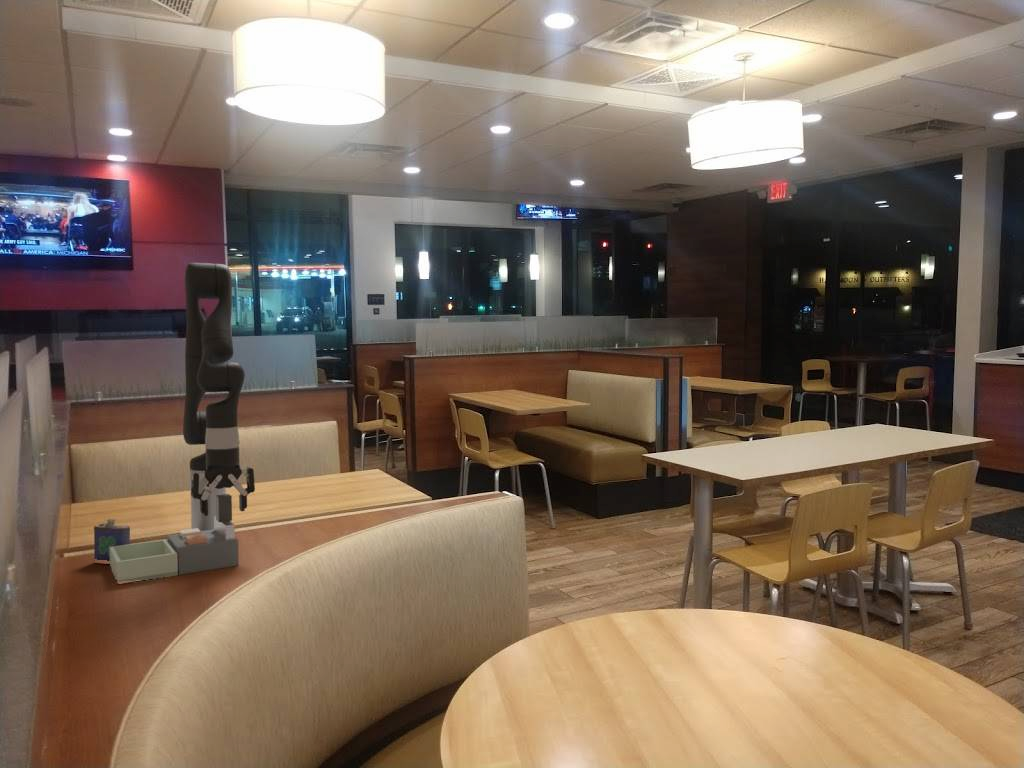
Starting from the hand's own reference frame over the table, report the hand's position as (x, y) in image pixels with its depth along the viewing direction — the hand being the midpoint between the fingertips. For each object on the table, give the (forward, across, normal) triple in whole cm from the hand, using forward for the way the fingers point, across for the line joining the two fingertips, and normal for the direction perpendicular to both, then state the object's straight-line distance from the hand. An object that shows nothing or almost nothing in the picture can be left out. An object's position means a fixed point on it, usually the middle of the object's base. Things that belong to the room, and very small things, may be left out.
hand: (223, 512), depth 180 cm
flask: (+12, +23, -12) cm, 28 cm away
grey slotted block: (+11, +5, 0) cm, 12 cm away
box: (+11, +18, 0) cm, 21 cm away
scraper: (+5, 0, 0) cm, 5 cm away
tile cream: (+5, +7, -4) cm, 9 cm away
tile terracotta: (+5, +7, +4) cm, 9 cm away
